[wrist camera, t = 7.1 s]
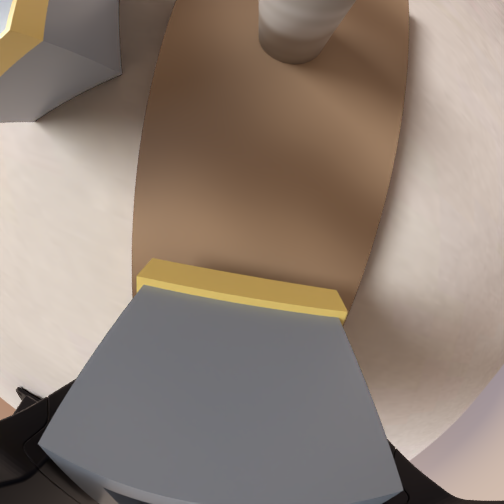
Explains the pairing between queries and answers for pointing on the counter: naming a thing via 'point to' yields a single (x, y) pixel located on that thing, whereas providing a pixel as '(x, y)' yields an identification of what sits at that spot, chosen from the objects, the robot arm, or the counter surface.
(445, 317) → the counter surface
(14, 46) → the sleeve band up
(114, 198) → the counter surface
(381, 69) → the pin board
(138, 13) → the counter surface
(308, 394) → the sleeve band down
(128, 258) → the counter surface
